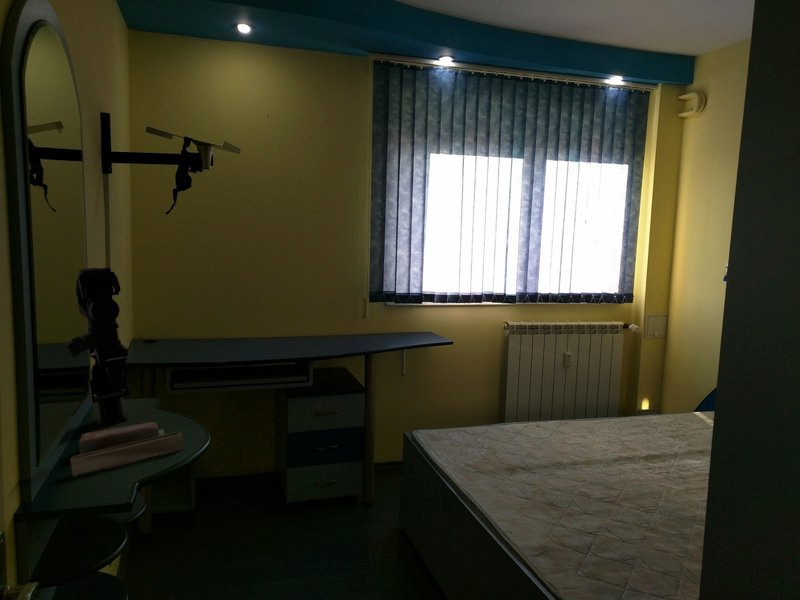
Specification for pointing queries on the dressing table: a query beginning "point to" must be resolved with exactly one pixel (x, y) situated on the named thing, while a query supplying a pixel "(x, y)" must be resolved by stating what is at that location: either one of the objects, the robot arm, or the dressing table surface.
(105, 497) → the dressing table surface
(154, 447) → the oak rail
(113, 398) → the robot arm
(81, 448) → the packaged product
